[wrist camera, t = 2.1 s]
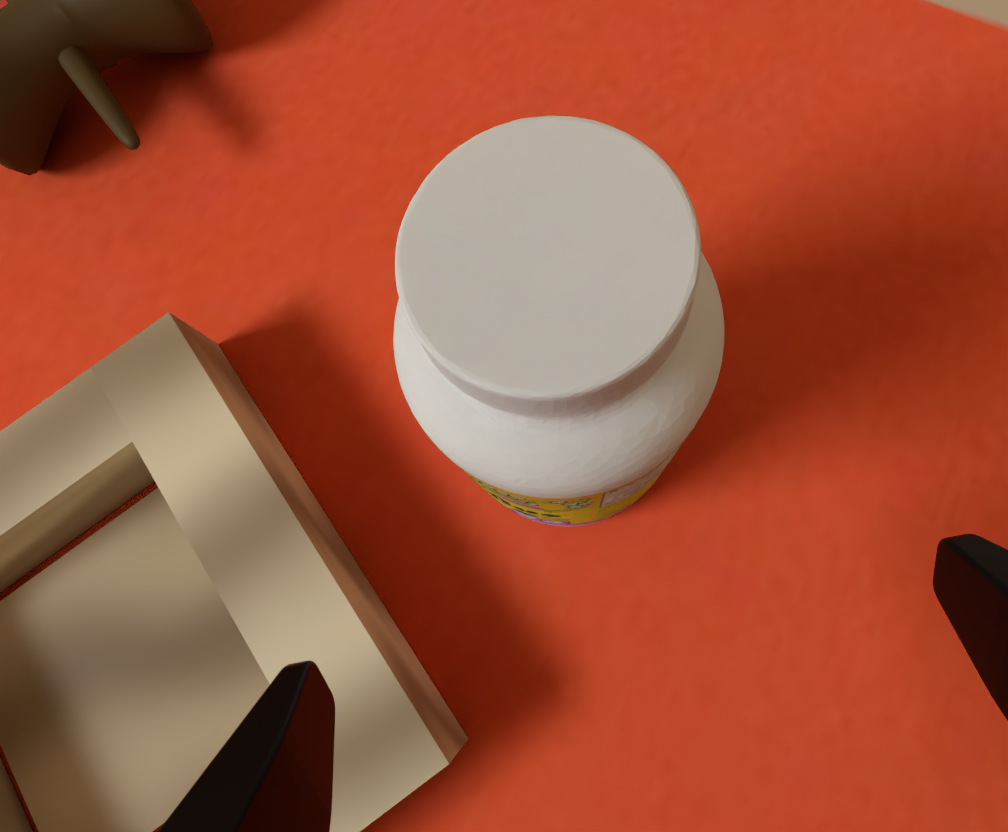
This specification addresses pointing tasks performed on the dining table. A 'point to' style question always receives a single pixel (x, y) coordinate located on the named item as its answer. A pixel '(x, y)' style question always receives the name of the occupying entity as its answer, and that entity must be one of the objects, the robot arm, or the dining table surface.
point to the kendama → (78, 63)
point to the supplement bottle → (556, 316)
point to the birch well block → (182, 601)
